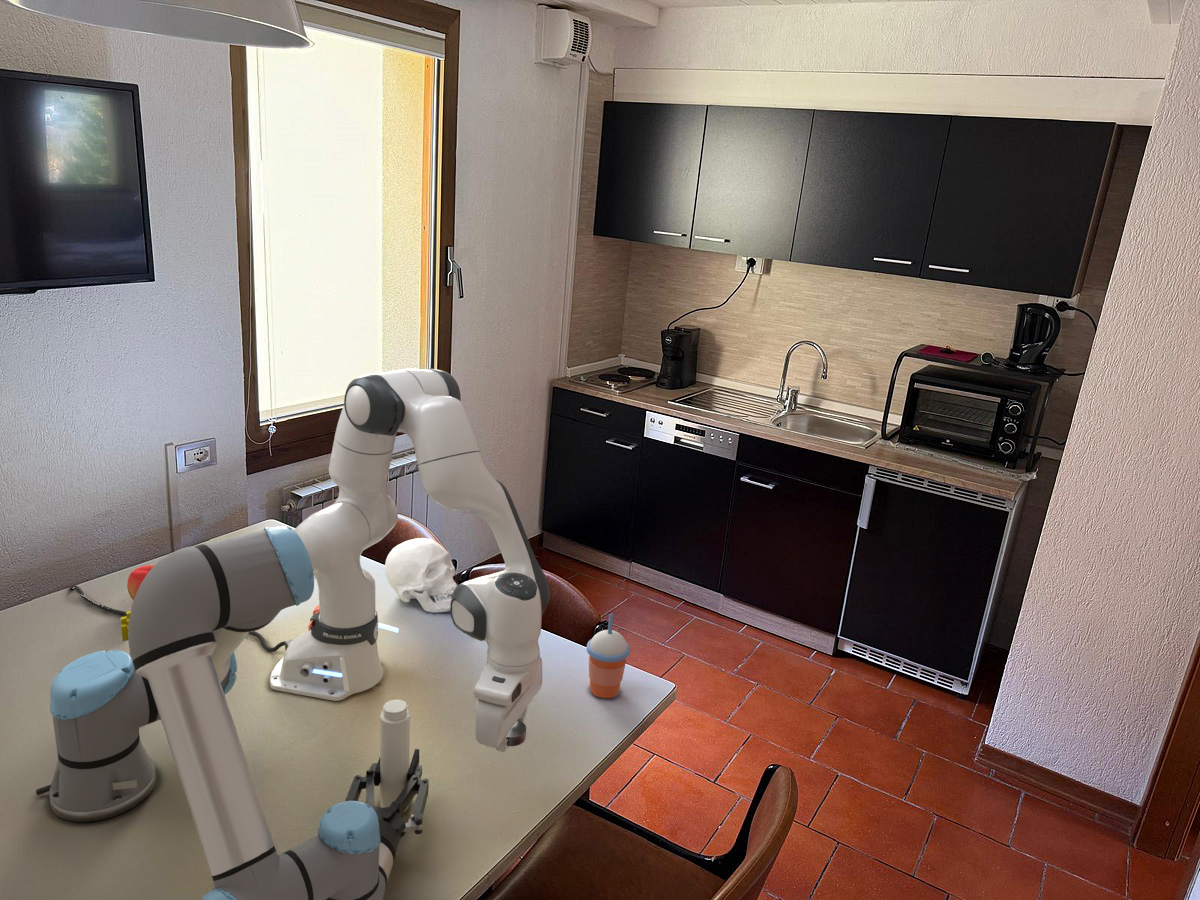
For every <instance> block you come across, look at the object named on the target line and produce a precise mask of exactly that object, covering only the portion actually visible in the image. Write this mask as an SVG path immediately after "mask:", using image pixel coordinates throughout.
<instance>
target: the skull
mask: <svg viewBox="0 0 1200 900" xmlns="http://www.w3.org/2000/svg"><path fill="white" fill-rule="evenodd" d="M384 573H385V577H386V580H387V582H388V584H389V585H390V588H392V590H393V591H394V592H395V593H396V594H397V596H398V598H399V599H400V600H401V601H402V602H404V603H410V601H411V599H416V600H417V601H418V603H419V604H420V605H421V607H422V609H423V610H424V612H425V611H426V612H427V613H433V614H435V613H436V614H437V613H447V612H451V611H450V605H451V598H452V594H453V592H454V590H455V588H456V587H457V586H458V584H457V583H456V581H455V580H454V577H455V576H456V574H457V572H456V568H455V566H454V564H453V561H452V559H451V554H450V552H449V551H447V550H446V549H445V548H444V547H443V545H441V544H440V543H439V542H437V541H436V540H434V539H431V538H425V537H419V538H417V537H416V538H413V539H408V540H405V541H403V542H401V543H399V544H397V545H396V546H393V548H392V549H391V551H389V553H388V554H387V557H386V559H385V563H384ZM430 596H431V597H433V599H434V600H432V599H431V597H430Z"/></svg>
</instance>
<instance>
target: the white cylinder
mask: <svg viewBox="0 0 1200 900" xmlns="http://www.w3.org/2000/svg"><path fill="white" fill-rule="evenodd" d="M379 714H380V715H379V739H380V740H379V758H380V785H379V797H380V798H379V807H381V808H385V807H390V805H391V804H392V802H393V801H395V800H396V799H397V797H398V796H399V794H400V793H401V791H402V790H403V789H404V787H405V786H406V784H407V775H408V771H409V767H410V741H411V740H410V738H411V737H410V736H411V735H410V734H411V733H410V732H411V731H410V729H411V712H410V710H409V709H408V705H407V703H406V702H405V701H404V700H403V699H391V700H387V701H386V702H385V703H384V705H383V706H382V710H381V713H379ZM409 805H410V804H409ZM409 805H408V807H407V808H406V810H405V811H404V813H405V812H407V810H408V809H409Z"/></svg>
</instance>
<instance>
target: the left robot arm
mask: <svg viewBox="0 0 1200 900" xmlns="http://www.w3.org/2000/svg"><path fill="white" fill-rule="evenodd" d="M294 530H295V529H293V528H291V527H290V526H287V525H276V526H272V527H268V526H265V527H264V528H263V529H260V530H259V529H258V530H256V531H252V532H247V533H243V534H238V535H235V536H231V537H226V538H222V539H218V540H214V541H210V542H206V543H201V544H198V545H194V546H187V547H182V548H179V549H177V550H174V551H173V552H170V553H169V554H167V555H165V556H163V557H162V558H161V559H160V560H159V561H158V562H157V563H156V564H154V565H155V566H154V567H153V568H152V569H151V570H150V571H149V573H148V574H147V575H146V577H145V578H144V580H143V582H142V583H141V585H140V587H139V589H138V591H137V593H136V596H135V598H134V600H132V604H131V608H130V611H131V612H130V618H129V627H128V649H129V653H127V652H126V651H123V650H118V649H110V650H108V651H106V650H99V651H95V652H91V653H88V654H85V655H83V656H81V657H78V658H77V659H74V660H72V661H71V662H70V663H67V664H66V665H65V666H63V667H62V669H60V670H59V671H58V673H57V675H55V676H54V678H53V679H52V681H51V684H50V689H49V690H50V691H49V692H50V694H49V695H50V697H49V698H50V703H49V711H50V714H51V715H52V722H53V723H52V725H53V732H54V738H55V745H56V746H55V747H56V752H57V763H56V766H55V770H54V773H53V777H52V780H51V784H48V785H45V786H42V787H40V788H36V790H35V794H36V796H40V795H43V794H45V793H48V797H49V806H50V809H51V811H52V812H53V813H54V814H55V815H56V816H57V817H59V818H60V819H63V820H65V821H69V822H75V823H76V822H77V823H90V822H97V821H102V820H107V819H110V818H113V817H117V816H119V815H122V814H123V813H125V812H127V811H129V810H132V809H133V808H135V807H136V806H137V805H139V804H140V803H142V802H143V801H144V800H145V799H146V798H147V797H148V796H149V795H150V794H151V792H152V791H153V790H154V788H155V786H156V782H157V772H156V765H155V763H154V761H153V760H152V759H151V757H150V755H149V754H148V752H147V750H146V748H145V746H144V744H143V743H142V741H141V737H140V736H141V735H140V728H142V727H144V726H147V725H150V724H152V723H155V722H158V721H161V724H162V727H163V730H164V733H165V737H166V740H167V743H168V745H169V749H170V752H171V754H172V758H173V760H174V764H175V767H176V770H177V773H178V777H179V779H180V782H181V785H182V789H183V792H184V795H185V797H186V801H187V804H188V807H189V810H190V813H191V816H192V819H193V823H194V826H195V829H196V832H197V835H198V838H199V841H200V844H201V847H202V850H203V853H204V856H205V859H206V862H207V865H208V868H209V871H210V875H211V879H212V881H213V888H212V889H210V891H209V892H208V893H206V894H205V895H203V896H202V898H201V900H384V898H385V897H384V896H385V893H386V890H387V886H388V882H389V879H390V875H391V872H392V869H393V864H394V862H395V859H396V855H397V851H398V849H399V845H400V841H401V839H402V838H403V837H404V836H405V835H406V833H408V832H413V831H414V834H415V835H421V834H422V833H423V830H424V829H423V826H424V825H423V823H424V817H423V816H424V812H425V808H426V804H427V800H428V797H429V786H430V785H429V783H430V782H429V780H430V779H428V778H422V776H423V766H422V764H421V765H420V748H414V751H413V755H412V758H411V761H410V763H409V771H408V775H407V784H406V786H405V787H404V789H403V790H402V791H401V793H400V794H399V796H398V797H397V799H396V800H395V801H393V802H392V804H391V805H390V807H385V808H381V807H380V806H375V787H380V757H379V758H378V761H377V762H372V763H371V764H370V767H369V769H367V770H366V771H365V776H362V775H360V774H357V775H355V776H354V777H353V780H352V781H351V785H350V787H349V790H348V792H347V795H346V797H345V800H344V801H341V802H337V803H335V804H334V805H332V806H330V807H329V808H328V809H327V810H326V811H325V813H324V814H323V815H322V816H321V818H320V820H319V826H318V828H317V834H316V835H314V836H313V837H311V838H309V839H307V840H305V841H303V842H301V843H299V844H297V845H296V846H294V847H292V848H290V849H288V850H286V851H284V852H282V853H280V854H278V852H277V849H276V845H275V842H274V841H275V840H274V839H273V835H272V832H271V830H270V827H269V824H268V822H267V821H268V820H267V818H266V815H265V812H264V809H263V806H262V803H261V799H260V797H259V794H258V791H257V788H256V785H255V781H254V778H253V776H252V772H251V771H250V767H249V764H248V761H247V759H246V758H247V757H246V755H245V752H244V749H243V746H242V744H241V739H240V737H239V734H238V731H237V729H236V725H235V722H234V719H233V715H232V713H231V710H230V707H229V704H228V702H227V701H228V700H227V698H226V696H225V695H227V694H228V693H229V692H230V691H231V690H232V689H233V687H234V685H235V683H236V680H237V674H236V673H237V672H238V664H237V658H236V654H235V651H236V650H237V649H238V647H239V646H240V645H241V644H242V642H243V641H244V640H245V639H246V638H247V636H248V635H250V634H249V632H253V631H255V632H257V631H259V630H261V629H264V628H265V627H266V626H268V625H269V624H270V623H272V622H273V620H274V619H275V618H276V617H277V616H278V615H279V614H280V612H281V611H283V610H285V609H287V608H290V607H294V606H296V607H297V606H300V605H301V604H303V603H306V602H307V601H309V600H310V599H311V598H312V596H313V594H314V589H315V575H314V573H313V568H312V564H311V561H310V557H309V554H308V552H307V550H306V547H305V545H304V543H303V541H302V540H301V538H300V537H299V535H298V534H297V533H296V532H295V531H294ZM130 655H131V656H130ZM363 790H365V801H366V802H363V801H359V799H360V796H361V794H362V791H363ZM415 796H416V797H415ZM414 798H415V803H414V806H413V810H412V814H410V816H409V818H407V819H408V820H407V821H406V822H405V820H404V819H403V818H402V816H403V814H404V813H405V812H406V811H407V810H406V808H407V807H408V808H409V806H408V805H410V804H411V802H412V801H413V799H414ZM405 810H406V811H405ZM404 811H405V812H404Z"/></svg>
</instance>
